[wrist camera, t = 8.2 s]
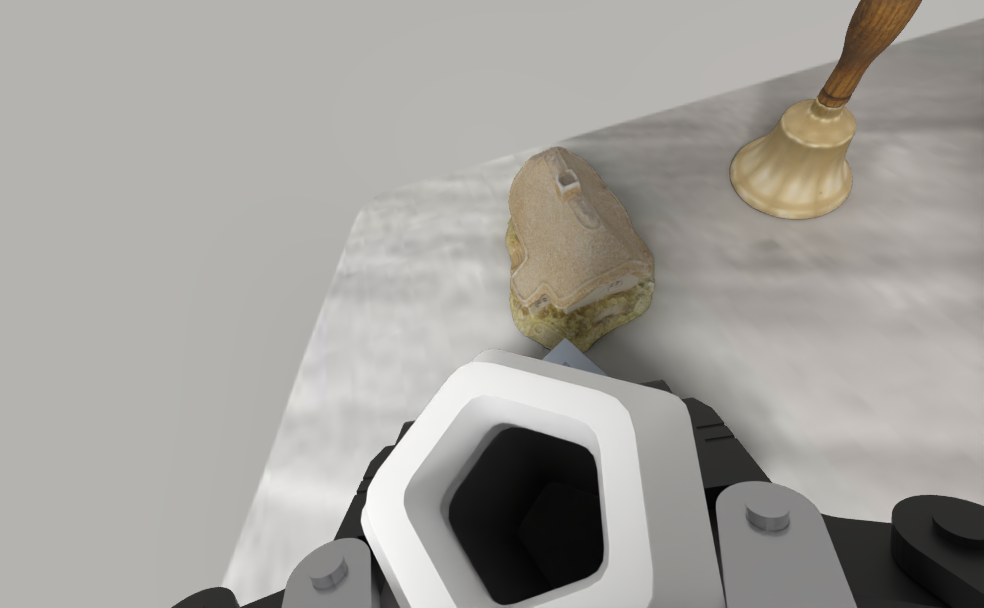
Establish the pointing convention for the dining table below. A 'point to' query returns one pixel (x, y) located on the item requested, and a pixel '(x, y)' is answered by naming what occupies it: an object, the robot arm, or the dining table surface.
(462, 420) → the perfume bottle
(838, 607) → the robot arm
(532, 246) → the ceramic model
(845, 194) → the hand bell
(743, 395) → the dining table surface
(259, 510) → the dining table surface
